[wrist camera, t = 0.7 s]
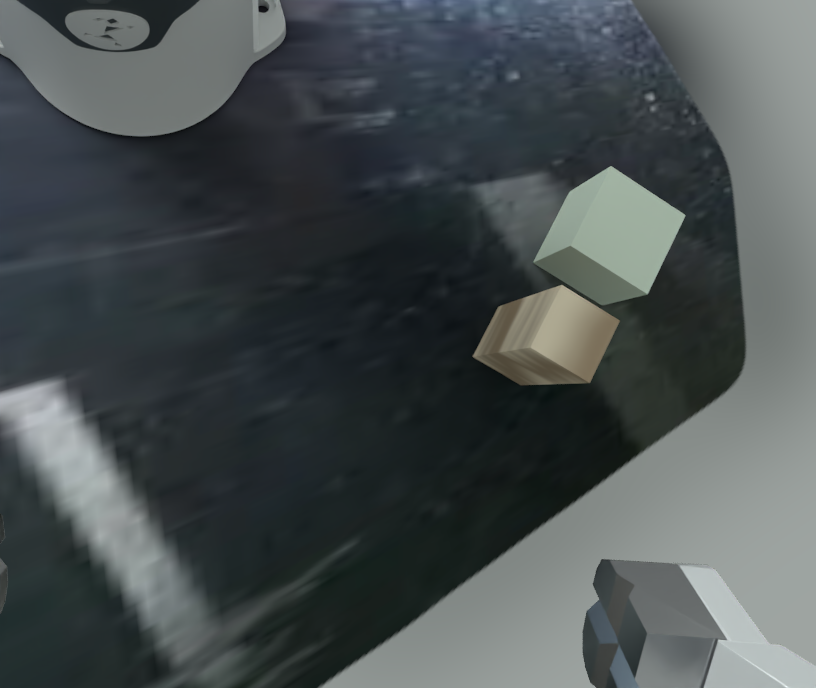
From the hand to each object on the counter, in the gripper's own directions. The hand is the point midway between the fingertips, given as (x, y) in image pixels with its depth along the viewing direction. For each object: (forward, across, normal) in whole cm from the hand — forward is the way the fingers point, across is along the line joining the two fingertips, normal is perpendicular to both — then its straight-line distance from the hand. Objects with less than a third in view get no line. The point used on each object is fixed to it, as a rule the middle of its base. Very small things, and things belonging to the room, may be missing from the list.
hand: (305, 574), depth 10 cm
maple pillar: (+38, -11, +8) cm, 40 cm away
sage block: (+42, -16, +2) cm, 45 cm away
